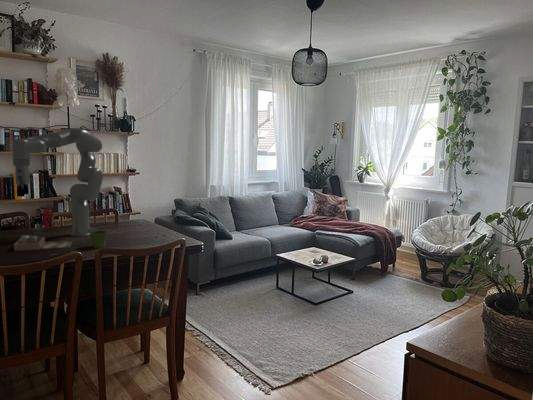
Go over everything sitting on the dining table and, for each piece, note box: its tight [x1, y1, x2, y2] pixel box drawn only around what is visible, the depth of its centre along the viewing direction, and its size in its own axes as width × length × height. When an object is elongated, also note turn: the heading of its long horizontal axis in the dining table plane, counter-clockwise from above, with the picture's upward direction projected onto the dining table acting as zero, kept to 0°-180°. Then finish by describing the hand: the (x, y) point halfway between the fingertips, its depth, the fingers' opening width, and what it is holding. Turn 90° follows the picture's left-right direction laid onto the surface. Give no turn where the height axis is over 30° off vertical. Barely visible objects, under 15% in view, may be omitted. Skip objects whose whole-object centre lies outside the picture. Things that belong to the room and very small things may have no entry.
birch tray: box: [40, 240, 73, 250], centre depth 221 cm, size 14×14×1 cm
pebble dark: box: [28, 235, 38, 243], centre depth 216 cm, size 4×4×6 cm
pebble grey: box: [20, 234, 30, 244], centre depth 216 cm, size 4×4×6 cm
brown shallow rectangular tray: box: [13, 236, 46, 252], centre depth 216 cm, size 12×16×4 cm
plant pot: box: [89, 230, 108, 249], centre depth 221 cm, size 9×9×9 cm
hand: (23, 195), depth 213 cm, fingers open, 9 cm apart
